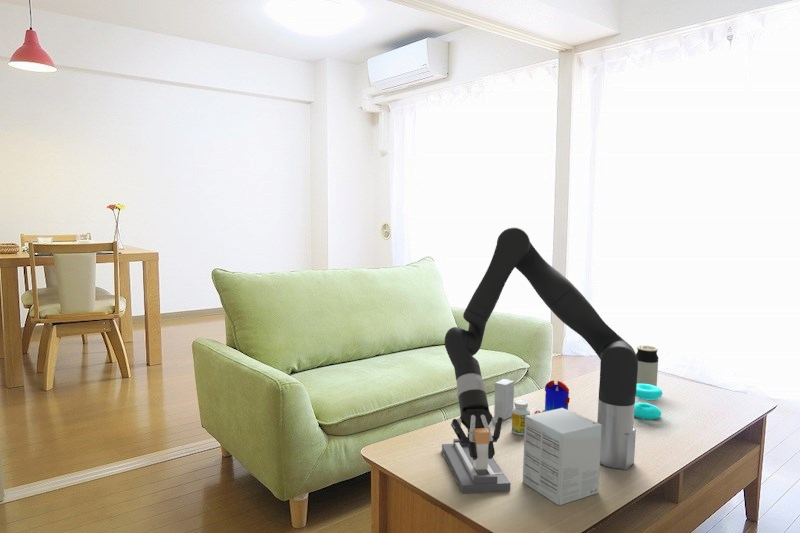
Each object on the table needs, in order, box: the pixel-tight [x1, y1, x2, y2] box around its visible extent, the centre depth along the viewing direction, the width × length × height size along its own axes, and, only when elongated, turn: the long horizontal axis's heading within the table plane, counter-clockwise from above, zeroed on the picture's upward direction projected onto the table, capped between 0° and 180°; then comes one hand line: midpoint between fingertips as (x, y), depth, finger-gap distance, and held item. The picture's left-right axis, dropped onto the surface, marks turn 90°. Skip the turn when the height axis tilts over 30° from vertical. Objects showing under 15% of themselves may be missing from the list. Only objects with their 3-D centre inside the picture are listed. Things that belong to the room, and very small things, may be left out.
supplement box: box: [522, 408, 602, 506], centre depth 134 cm, size 13×13×18 cm
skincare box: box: [493, 378, 515, 421], centre depth 182 cm, size 6×4×12 cm
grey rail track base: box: [441, 438, 511, 494], centre depth 144 cm, size 24×12×4 cm, turn 7°
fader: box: [474, 428, 491, 475], centre depth 137 cm, size 3×3×11 cm
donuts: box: [634, 384, 663, 421], centre depth 185 cm, size 10×10×10 cm
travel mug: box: [635, 345, 659, 387], centre depth 208 cm, size 8×8×18 cm
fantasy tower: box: [533, 380, 570, 414], centre depth 185 cm, size 12×12×12 cm
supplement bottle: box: [511, 399, 531, 436], centre depth 169 cm, size 5×5×10 cm
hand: (483, 458), depth 135 cm, fingers closed on fader, 3 cm apart
